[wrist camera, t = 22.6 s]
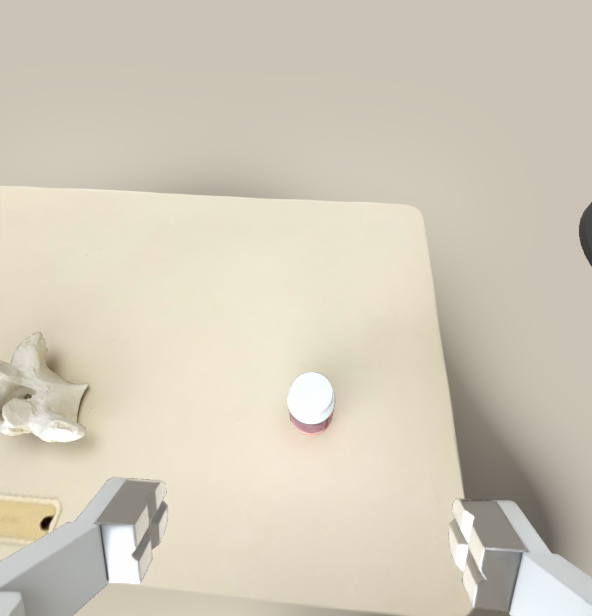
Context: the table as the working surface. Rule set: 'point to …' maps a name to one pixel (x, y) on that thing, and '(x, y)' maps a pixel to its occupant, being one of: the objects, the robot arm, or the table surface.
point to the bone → (38, 396)
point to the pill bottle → (311, 403)
